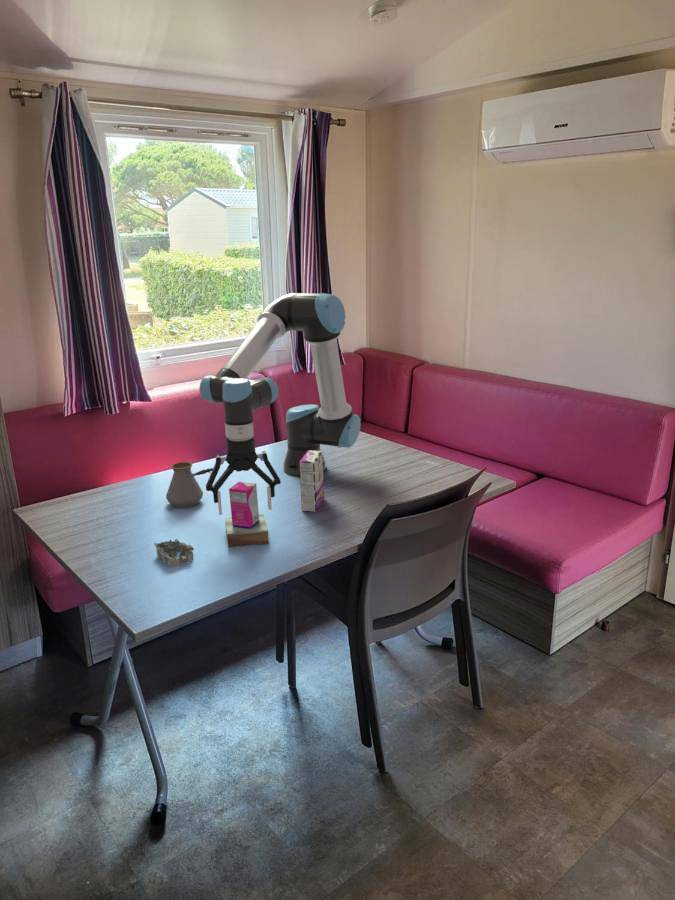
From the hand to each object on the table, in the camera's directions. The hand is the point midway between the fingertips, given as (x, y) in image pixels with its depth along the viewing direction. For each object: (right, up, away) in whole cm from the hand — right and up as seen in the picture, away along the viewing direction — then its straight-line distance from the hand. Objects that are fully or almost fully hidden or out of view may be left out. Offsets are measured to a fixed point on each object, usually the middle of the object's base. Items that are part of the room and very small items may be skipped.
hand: (245, 510), depth 185 cm
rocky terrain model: (-17, -12, -9) cm, 23 cm away
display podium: (0, -8, +2) cm, 8 cm away
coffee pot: (-19, -1, +24) cm, 31 cm away
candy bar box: (+18, -1, +23) cm, 30 cm away
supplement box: (0, -4, +1) cm, 4 cm away
